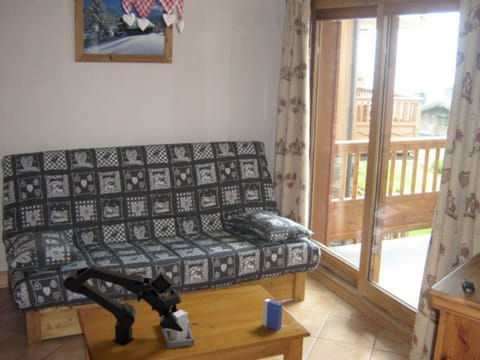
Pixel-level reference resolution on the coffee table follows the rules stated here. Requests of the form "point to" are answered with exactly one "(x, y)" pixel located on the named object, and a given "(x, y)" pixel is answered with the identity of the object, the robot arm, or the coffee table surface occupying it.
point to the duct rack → (179, 342)
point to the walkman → (272, 314)
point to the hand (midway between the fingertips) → (182, 325)
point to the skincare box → (183, 322)
